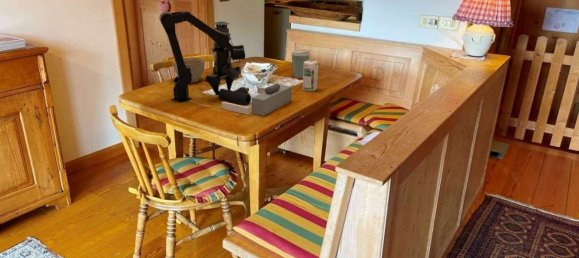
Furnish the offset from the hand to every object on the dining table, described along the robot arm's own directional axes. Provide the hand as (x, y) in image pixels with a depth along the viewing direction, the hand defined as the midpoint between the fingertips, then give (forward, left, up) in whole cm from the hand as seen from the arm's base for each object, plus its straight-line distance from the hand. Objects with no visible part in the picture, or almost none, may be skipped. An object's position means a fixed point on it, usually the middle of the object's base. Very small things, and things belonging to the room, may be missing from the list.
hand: (223, 93), depth 203 cm
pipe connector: (0, -9, -2) cm, 9 cm away
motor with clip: (0, -20, -2) cm, 20 cm away
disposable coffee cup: (+52, -13, -2) cm, 54 cm away
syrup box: (+33, -29, -2) cm, 44 cm away
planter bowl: (+11, +31, -2) cm, 33 cm away
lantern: (+29, +22, -2) cm, 36 cm away
